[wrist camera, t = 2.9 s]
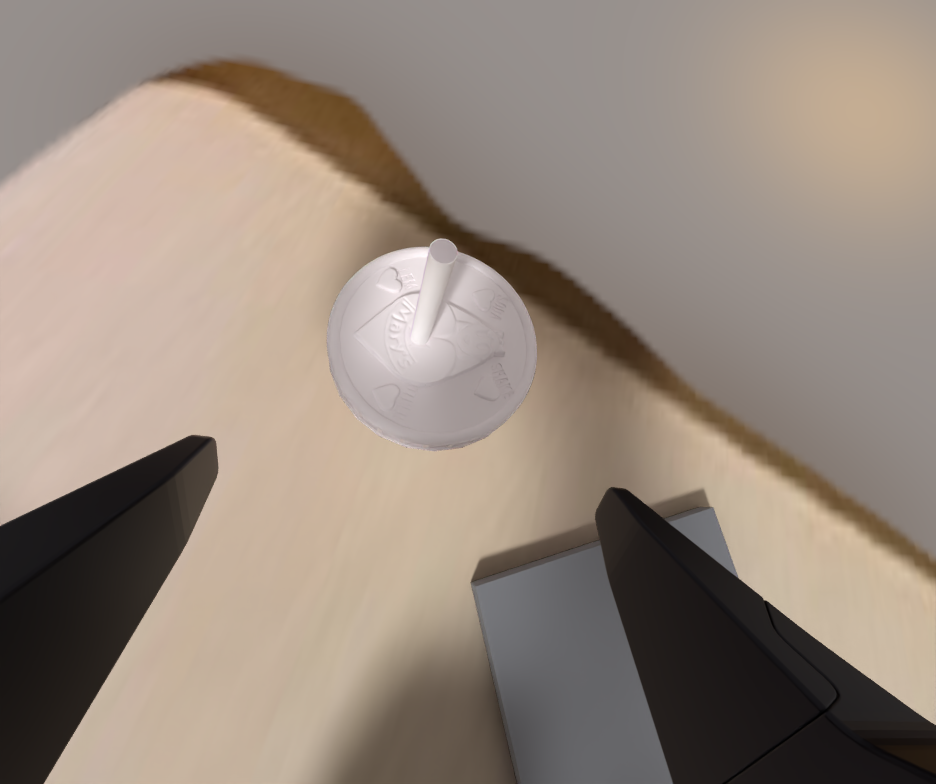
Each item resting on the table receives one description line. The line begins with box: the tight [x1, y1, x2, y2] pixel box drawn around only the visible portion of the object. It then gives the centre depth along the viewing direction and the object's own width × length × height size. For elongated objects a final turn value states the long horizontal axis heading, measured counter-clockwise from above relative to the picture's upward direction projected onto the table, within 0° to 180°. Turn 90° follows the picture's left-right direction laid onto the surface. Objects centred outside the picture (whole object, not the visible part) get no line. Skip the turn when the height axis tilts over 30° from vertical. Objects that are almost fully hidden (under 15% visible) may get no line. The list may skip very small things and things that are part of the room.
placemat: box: [471, 507, 738, 784], centre depth 19 cm, size 14×14×1 cm
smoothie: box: [327, 239, 537, 451], centre depth 14 cm, size 6×6×14 cm
